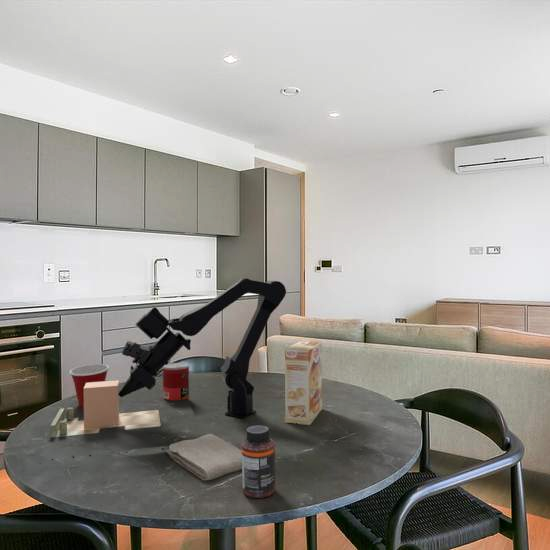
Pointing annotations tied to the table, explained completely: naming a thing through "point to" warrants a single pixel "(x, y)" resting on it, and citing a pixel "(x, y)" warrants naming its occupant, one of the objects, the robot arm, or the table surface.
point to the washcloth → (207, 456)
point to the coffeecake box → (303, 382)
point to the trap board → (76, 427)
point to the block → (101, 404)
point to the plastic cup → (87, 378)
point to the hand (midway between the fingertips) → (119, 395)
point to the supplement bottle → (258, 463)
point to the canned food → (176, 381)
